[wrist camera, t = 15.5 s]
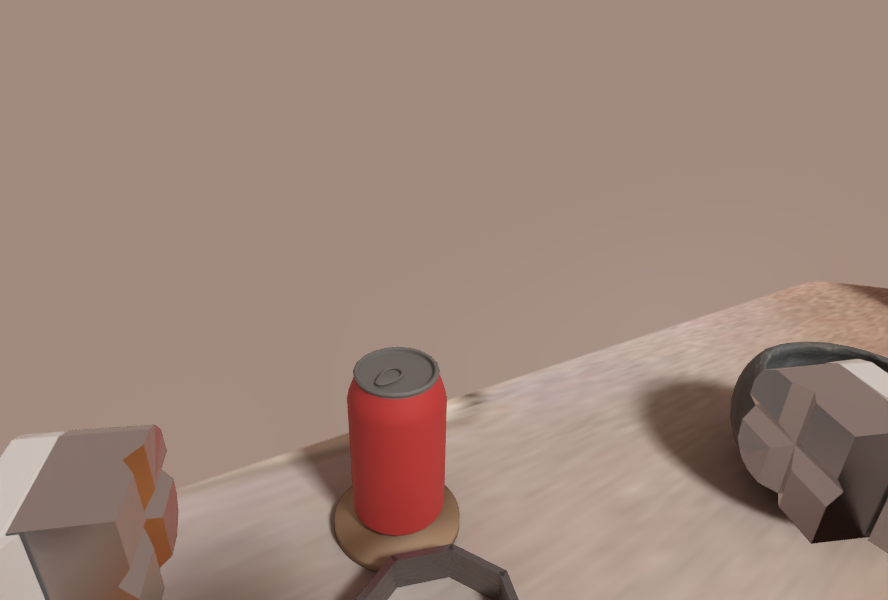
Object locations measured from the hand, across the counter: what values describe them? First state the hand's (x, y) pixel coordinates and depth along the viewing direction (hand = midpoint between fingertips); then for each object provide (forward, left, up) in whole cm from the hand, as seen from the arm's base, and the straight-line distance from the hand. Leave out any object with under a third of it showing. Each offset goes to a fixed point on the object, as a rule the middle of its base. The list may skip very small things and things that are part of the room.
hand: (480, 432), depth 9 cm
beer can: (-16, +22, -29) cm, 40 cm away
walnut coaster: (-16, +21, -30) cm, 40 cm away
